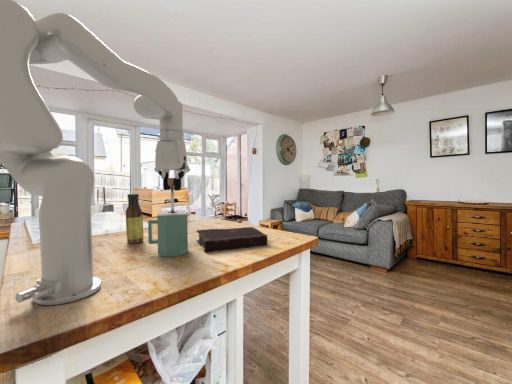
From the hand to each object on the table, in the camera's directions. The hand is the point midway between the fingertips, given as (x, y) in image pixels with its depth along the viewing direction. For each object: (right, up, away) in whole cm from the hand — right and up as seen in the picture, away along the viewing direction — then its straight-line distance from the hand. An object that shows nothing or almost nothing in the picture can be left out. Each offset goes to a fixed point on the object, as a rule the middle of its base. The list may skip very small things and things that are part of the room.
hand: (172, 189), depth 87 cm
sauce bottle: (-20, -22, +15) cm, 33 cm away
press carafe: (-2, -22, +1) cm, 23 cm away
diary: (+19, -22, +15) cm, 33 cm away
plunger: (0, -11, +1) cm, 11 cm away
